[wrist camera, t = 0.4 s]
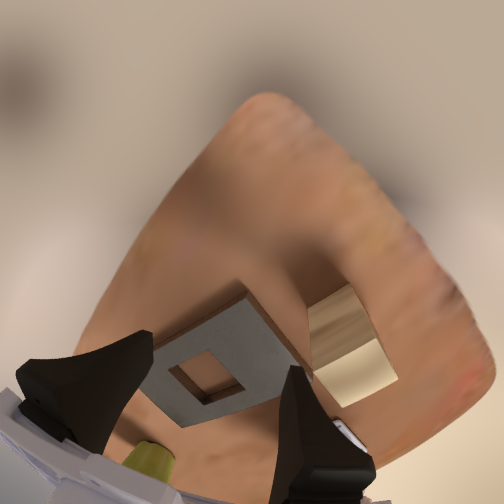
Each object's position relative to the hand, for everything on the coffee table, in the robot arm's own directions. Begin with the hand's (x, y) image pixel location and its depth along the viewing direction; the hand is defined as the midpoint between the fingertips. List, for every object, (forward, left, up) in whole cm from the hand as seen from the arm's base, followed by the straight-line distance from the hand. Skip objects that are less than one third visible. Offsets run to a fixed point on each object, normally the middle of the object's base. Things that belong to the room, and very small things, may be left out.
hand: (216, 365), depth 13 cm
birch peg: (-6, -5, -10) cm, 13 cm away
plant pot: (-15, +29, -10) cm, 34 cm away
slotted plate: (-5, +8, -10) cm, 14 cm away
